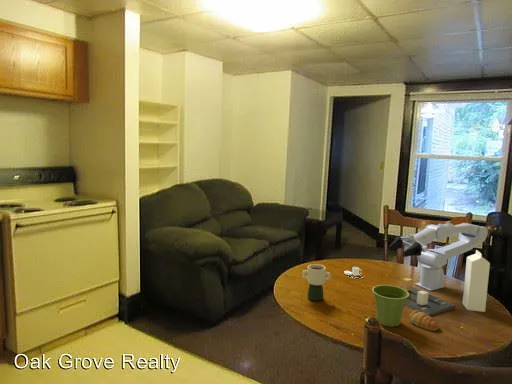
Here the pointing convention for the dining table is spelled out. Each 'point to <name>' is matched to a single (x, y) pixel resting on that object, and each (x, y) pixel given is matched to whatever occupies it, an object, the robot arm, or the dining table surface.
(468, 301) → the milk
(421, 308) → the console
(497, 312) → the dining table surface
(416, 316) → the pastry
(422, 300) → the fader
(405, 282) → the block
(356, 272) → the teacup and saucer
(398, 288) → the plant pot
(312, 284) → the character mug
